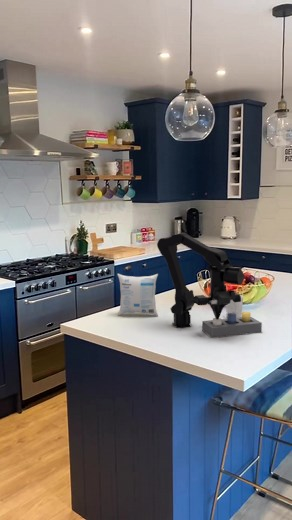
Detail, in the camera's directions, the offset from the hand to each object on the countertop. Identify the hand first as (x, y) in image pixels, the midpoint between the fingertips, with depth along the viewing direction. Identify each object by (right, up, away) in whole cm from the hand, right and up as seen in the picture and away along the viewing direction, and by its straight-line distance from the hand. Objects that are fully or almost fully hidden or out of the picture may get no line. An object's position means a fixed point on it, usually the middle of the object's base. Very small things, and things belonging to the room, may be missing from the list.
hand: (217, 319), depth 186 cm
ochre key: (+13, -2, +4) cm, 13 cm away
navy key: (+6, -2, +2) cm, 7 cm away
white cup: (+11, -2, +22) cm, 25 cm away
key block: (+6, -5, +3) cm, 9 cm away
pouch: (-33, -2, +28) cm, 43 cm away
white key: (0, -4, +1) cm, 4 cm away
